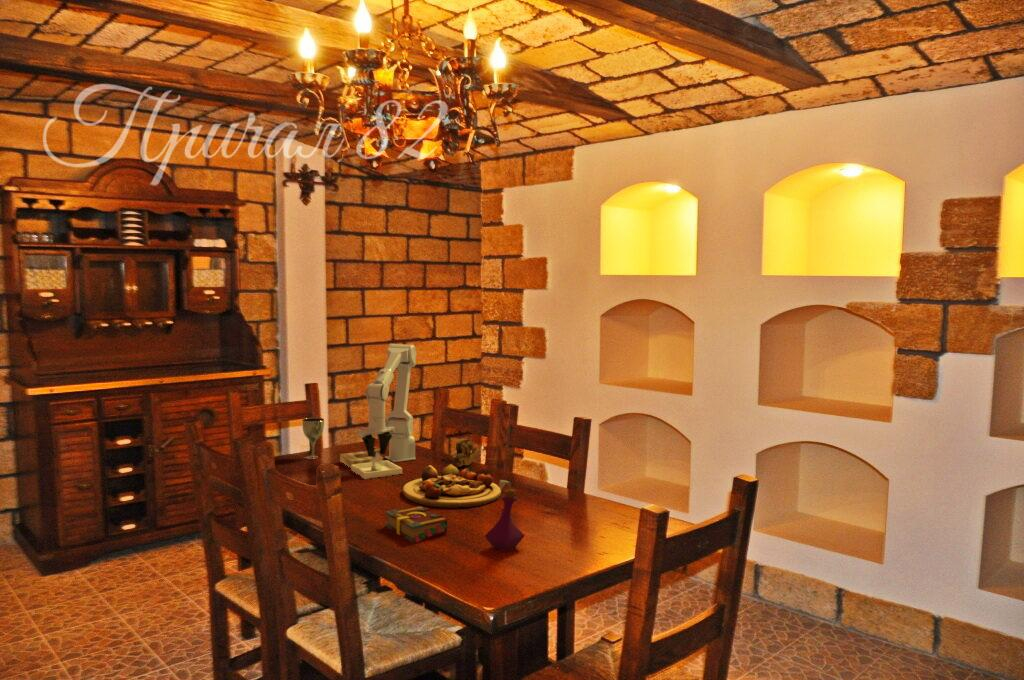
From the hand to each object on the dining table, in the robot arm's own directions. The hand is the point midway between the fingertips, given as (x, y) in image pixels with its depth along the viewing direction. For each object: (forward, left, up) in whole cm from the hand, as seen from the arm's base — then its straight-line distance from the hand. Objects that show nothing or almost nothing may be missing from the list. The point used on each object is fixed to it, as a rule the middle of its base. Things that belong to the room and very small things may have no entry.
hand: (376, 454), depth 260 cm
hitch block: (0, -14, -6) cm, 15 cm away
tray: (0, 0, -6) cm, 6 cm away
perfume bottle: (0, +84, -7) cm, 84 cm away
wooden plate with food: (-11, +35, -7) cm, 37 cm away
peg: (0, 0, -6) cm, 6 cm away
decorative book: (+14, +61, -7) cm, 63 cm away
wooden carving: (-33, +6, -7) cm, 34 cm away
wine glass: (+13, -30, -7) cm, 33 cm away
